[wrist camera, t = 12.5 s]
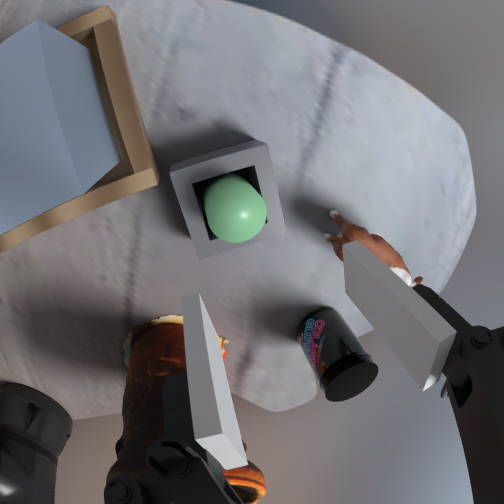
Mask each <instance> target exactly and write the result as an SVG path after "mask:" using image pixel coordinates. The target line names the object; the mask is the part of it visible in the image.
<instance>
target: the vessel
mask: <svg viewBox="0 0 504 504" xmlns="http://www.w3.org/2000/svg"><path fill="white" fill-rule="evenodd" d="M128 336H129V337H127V338H125V340H124V342H121V343H122V346H123V348H124V350H125V352H124V364H125V365H126V366H127V367H128V374H127V378H126V388H125V392H124V396H123V407H122V416H123V423H124V428H123V435H122V436H121V438H120V439H119V440H118V441H117V443H116V447H115V449H116V454H117V459H118V460H117V461H116V463H114V465H113V466H112V467H111V468H110V470H109V473H108V475H107V479H106V484H107V483H108V481H110V480H111V479H112V478H113V477H116V476H119V475H124V476H129V477H131V478H133V479H134V478H136V477H138V476H141V475H143V474H145V473H147V472H149V471H151V469H149V468H148V467H146V463H145V455H146V451H147V449H148V448H149V446H150V445H151V444H152V443H153V442H154V441H156V440H157V439H159V438H163V437H165V436H164V418H163V413H164V411H163V393H162V388H163V385H164V383H165V380H166V378H167V376H168V375H172V374H176V373H179V372H183V371H187V366H186V354H185V341H184V327H183V315H181V316H176V315H169V316H162V317H160V318H159V319H155V320H152V321H151V322H150V323H149V324H147V323H145V326H141V325H136V327H135V329H134V330H133V331H131V332H130V333H128ZM217 336H218V335H217ZM218 339H219V344H220V349H221V353H222V358H223V360H224V359H225V358H226V353H227V351H226V350H223V347H224V344H225V342H226V343H229V342H228V340H226V339H224V338H221V337H219V336H218ZM241 439H242V438H241ZM242 443H243V447H244V451H245V453H246V449H247V447H246V444H245V443H244V442H243V440H242ZM247 462H248V465H245V466H241V467H237V468H233V469H229V470H226V469H224V468H223V467H222V469H223V474H224V478H225V479H226V480H227V481H228V482H229V483H230V485H231V486H232V488H233V489H234V490H235V492H236V493H237V495H238V496H239V497H240V499H241V500H242V502H243V503H244V504H256V503H257V502H258V501H259V500H260V499H261V497H262V496H263V495H265V478H264V475H263V473H262V472H261V470H260V469H259V468H258V467H256V466H255V465H254V464H253V463H251V462H250V461H248V460H247Z"/></svg>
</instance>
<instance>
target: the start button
mask: <svg viewBox="0 0 504 504" xmlns="http://www.w3.org/2000/svg"><path fill="white" fill-rule="evenodd" d="M203 204H204V208H205V212H206V216H207V220H208V224H209V227H210V229H211V230H212V232H213V233H214V234H215V235H216V236H217V237H218V238H220V239H222V240H224V241H227V242H232V243H238V242H244V241H247V240H249V239H251V238H253V237H254V236H255V235H256V234H258V233H259V231H260V230H261V229H262V227H263V225H264V223H265V221H266V216H267V209H266V205H265V202H264V200H263V198H262V197H261V196H260V194H259V193H258V192H257V191H256V190H255V189H254V188H253V187H252V186H251V185H250V183H249V182H248V181H247V180H246V179H244V178H243V177H241V176H239V175H236V174H222V175H219V176H217V177H215V178H214V179H213V180H212V181H210V183H209V184H208V185H207V187H206V189H205V191H204V195H203Z"/></svg>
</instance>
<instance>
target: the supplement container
mask: <svg viewBox="0 0 504 504" xmlns="http://www.w3.org/2000/svg"><path fill="white" fill-rule="evenodd" d="M297 340H298V342H299V344H300V346H301V348H302V350H303V352H304V354H305V356H306V358H307V360H308V362H309V364H310V366H311V368H312V370H313V372H314V374H315V376H316V378H317V380H318V382H319V384H320V387H321V389H322V391H323V393H324V395H325V397H326V398H327V399H328V400H329V401H333V402H339V401H344V400H347V399H350V398H352V397H354V396H356V395H358V394H359V393H361V392H363V391H364V390H365V389H366V388H367V387H369V386H370V384H371V383H372V382H373V381H374V380H375V378H376V376H377V374H378V366H377V365H376V363H375V362H374V360H373V359H372V357H371V356H370V355H369V354H368V352H367V351H366V350H365V348H364V347H363V345H362V344H361V343H360V341H359V340H358V338H357V337H356V335H355V334H354V333H353V331H352V330H351V329H350V327H349V326H348V324H347V323H346V322H345V320H344V319H343V317H342V316H341V315H340V314H339V313H338V312H337V311H335V310H332V309H321V310H317V311H315V312H313V313H311V314H309V315H308V316H307V317H305V318H304V319H303V321H302V322H301V323H300V325H299V327H298V330H297Z"/></svg>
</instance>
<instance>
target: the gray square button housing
mask: <svg viewBox="0 0 504 504" xmlns="http://www.w3.org/2000/svg"><path fill="white" fill-rule="evenodd" d="M246 167H247V169H248V173H249V177H250V181H251V185H252V187H253V188H254V189H255V190H256V191H257V192H258V193H259V194H260V196H261V197H262V198H263V200H264V202H265V205H266V209H267V216H266V221H265V223H264V225H263V227H262V229H261V230H260V231H259V233H258V234H256V235H255V236H254V237H253V238H251V239H249V240H247V241H244V242H238V243H232V242H227V241H224V240H222V239H220V238H218V237H217V236H216V235H215V234H214V233H213V232H212V230H211V229H210V227H209V224H208V223H207V224H206V223H205V219H204V216H203V213H202V210H201V207H200V204H199V201H198V198H197V194H196V191H195V188H194V185H193V183H196V182H199V181H202V180H205V179H208V178H212V177H215V176H218V175H222V174H225V173H228V172H232V171H235V170H239V169H242V168H246ZM169 174H170V177H171V180H172V183H173V186H174V189H175V192H176V195H177V198H178V201H179V204H180V207H181V210H182V213H183V216H184V219H185V222H186V224H187V227H188V230H189V233H190V236H191V238H192V241H193V244H194V247H195V250H196V252H197V255H198V258H199V260H200V259H203V258H206V257H210V256H213V255H216V254H219V253H222V252H225V251H228V250H232V249H235V248H238V247H241V246H244V245H247V244H250V243H254V242H257V241H260V240H263V239H266V238H269V237H273V236H276V235H279V234H282V233H285V232H286V228H285V223H284V218H283V214H282V209H281V204H280V199H279V194H278V189H277V185H276V180H275V175H274V171H273V166H272V162H271V157H270V153H269V148H268V144H266V143H263V142H261V141H258V140H256V139H255V140H251V141H248V142H244V143H240V144H236V145H233V146H229V147H225V148H222V149H218V150H215V151H212V152H208V153H205V154H202V155H198V156H195V157H192V158H189V159H186V160H182V161H179V162H176V163H173V164H171V166H170V171H169Z"/></svg>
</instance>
